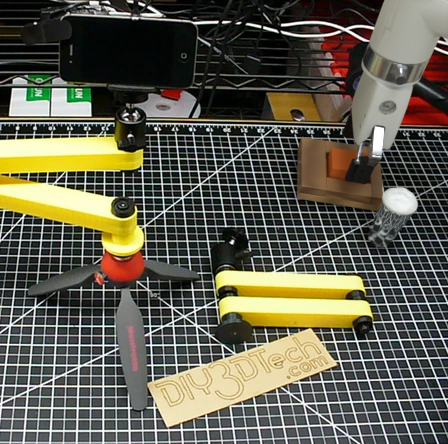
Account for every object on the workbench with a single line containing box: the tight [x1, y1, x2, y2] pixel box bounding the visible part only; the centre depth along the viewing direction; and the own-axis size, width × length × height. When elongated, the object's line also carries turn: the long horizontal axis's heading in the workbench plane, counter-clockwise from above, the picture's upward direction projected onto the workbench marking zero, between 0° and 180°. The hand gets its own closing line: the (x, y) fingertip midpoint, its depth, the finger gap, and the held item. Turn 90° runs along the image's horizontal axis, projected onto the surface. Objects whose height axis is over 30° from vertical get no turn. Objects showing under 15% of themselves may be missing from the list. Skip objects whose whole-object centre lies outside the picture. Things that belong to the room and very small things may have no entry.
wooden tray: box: [296, 136, 383, 212], centre depth 89 cm, size 12×11×3 cm
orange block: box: [326, 148, 368, 180], centre depth 88 cm, size 6×5×3 cm
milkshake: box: [367, 180, 419, 248], centre depth 79 cm, size 4×5×10 cm
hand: (353, 158), depth 86 cm, fingers open, 9 cm apart
